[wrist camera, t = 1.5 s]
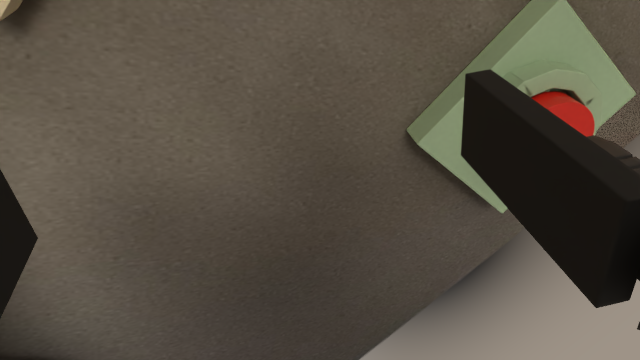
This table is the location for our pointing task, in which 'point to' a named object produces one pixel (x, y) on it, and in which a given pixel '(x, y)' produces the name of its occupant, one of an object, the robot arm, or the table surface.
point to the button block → (526, 81)
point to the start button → (568, 111)
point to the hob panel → (8, 7)
